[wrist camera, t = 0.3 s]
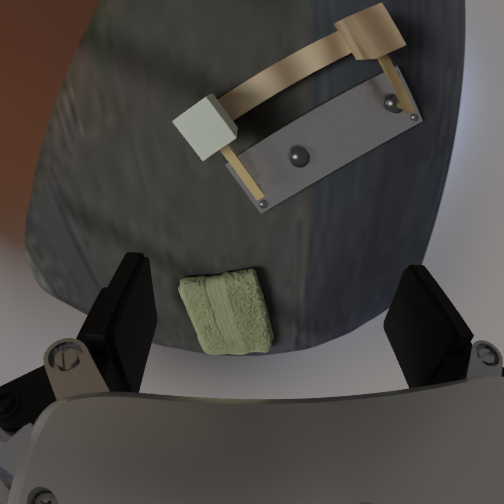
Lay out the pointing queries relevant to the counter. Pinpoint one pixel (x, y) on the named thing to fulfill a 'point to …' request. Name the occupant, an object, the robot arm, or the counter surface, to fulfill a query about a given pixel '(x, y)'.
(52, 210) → the counter surface
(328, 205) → the counter surface
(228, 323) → the washcloth
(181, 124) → the block
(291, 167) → the bolt plate
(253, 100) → the rail
